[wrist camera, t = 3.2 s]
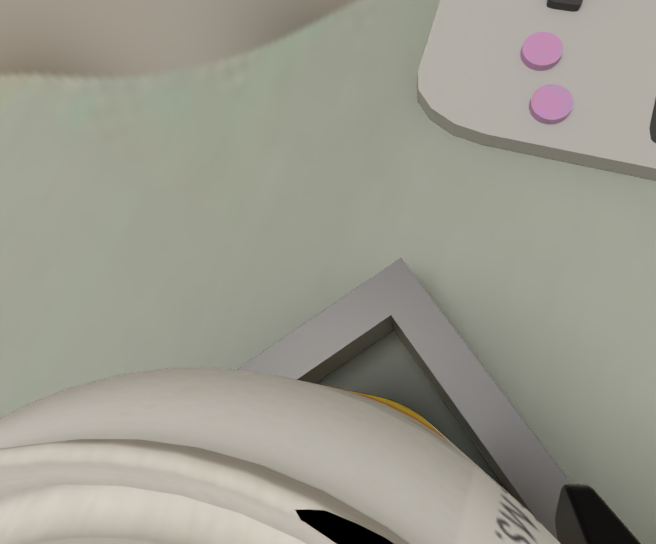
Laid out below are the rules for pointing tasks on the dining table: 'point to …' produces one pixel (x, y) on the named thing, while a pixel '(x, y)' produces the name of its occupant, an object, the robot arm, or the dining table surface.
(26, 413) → the beer can
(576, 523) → the robot arm
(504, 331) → the dining table surface
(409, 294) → the ring
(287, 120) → the dining table surface
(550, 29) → the handheld gaming console
